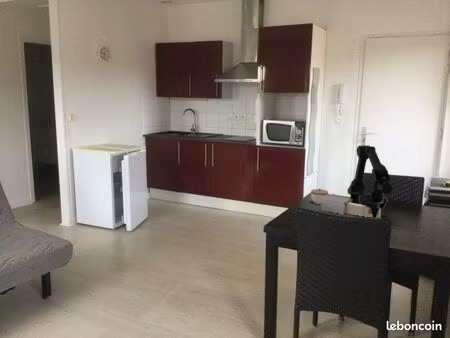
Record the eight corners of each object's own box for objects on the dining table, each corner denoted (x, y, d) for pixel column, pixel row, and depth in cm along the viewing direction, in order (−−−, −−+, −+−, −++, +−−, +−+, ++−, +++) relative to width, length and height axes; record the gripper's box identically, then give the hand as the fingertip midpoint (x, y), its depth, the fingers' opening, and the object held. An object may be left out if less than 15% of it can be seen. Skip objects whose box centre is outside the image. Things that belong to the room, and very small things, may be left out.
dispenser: (328, 206, 255) (329, 195, 253) (351, 211, 246) (352, 199, 244) (320, 210, 246) (321, 198, 245) (344, 215, 237) (345, 202, 236)
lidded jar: (323, 206, 256) (324, 191, 255) (307, 203, 263) (308, 188, 261) (330, 202, 265) (331, 188, 263) (314, 199, 271) (315, 185, 269)
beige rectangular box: (348, 212, 243) (348, 202, 242) (380, 218, 231) (381, 208, 230) (345, 213, 241) (346, 203, 239) (378, 219, 229) (379, 209, 228)
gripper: (370, 184, 240) (368, 210, 243) (358, 190, 226) (356, 217, 229) (389, 187, 233) (387, 214, 236) (378, 193, 219) (376, 221, 222)
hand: (376, 216), depth 231 cm, fingers open, 6 cm apart
